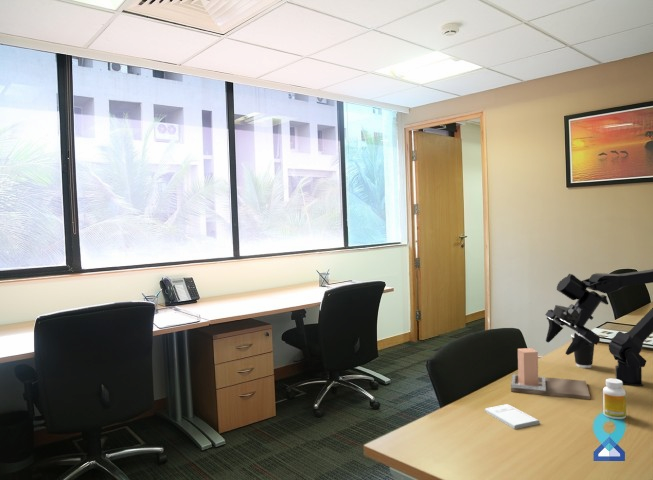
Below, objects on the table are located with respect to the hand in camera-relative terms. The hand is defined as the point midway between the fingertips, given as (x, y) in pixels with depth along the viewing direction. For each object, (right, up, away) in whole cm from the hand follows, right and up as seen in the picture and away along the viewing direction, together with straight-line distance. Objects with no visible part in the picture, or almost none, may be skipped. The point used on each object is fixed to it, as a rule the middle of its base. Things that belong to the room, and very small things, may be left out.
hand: (556, 347), depth 157 cm
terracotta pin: (-10, -11, -1) cm, 15 cm away
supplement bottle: (+4, -13, -24) cm, 28 cm away
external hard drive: (-23, -15, -23) cm, 36 cm away
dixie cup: (+18, -11, +17) cm, 27 cm away
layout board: (-3, -12, -2) cm, 13 cm away
